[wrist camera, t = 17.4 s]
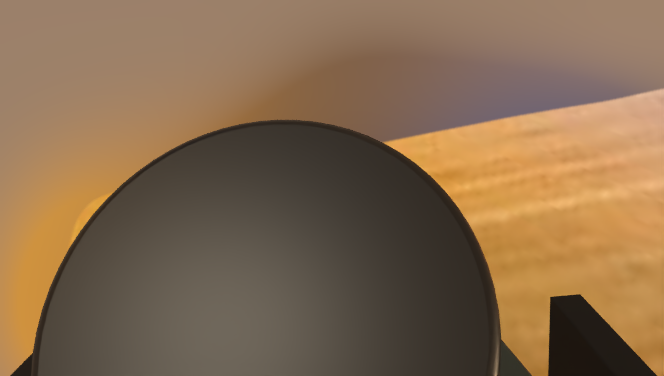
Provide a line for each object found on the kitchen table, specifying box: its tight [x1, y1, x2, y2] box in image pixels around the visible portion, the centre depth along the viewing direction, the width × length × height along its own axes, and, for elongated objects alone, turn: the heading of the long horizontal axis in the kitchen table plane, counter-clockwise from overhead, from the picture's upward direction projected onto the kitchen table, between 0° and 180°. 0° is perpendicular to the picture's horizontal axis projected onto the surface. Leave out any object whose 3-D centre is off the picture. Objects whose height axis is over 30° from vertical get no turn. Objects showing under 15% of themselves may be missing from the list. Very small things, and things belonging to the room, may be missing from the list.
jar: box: [31, 120, 501, 376], centre depth 13 cm, size 9×8×12 cm
